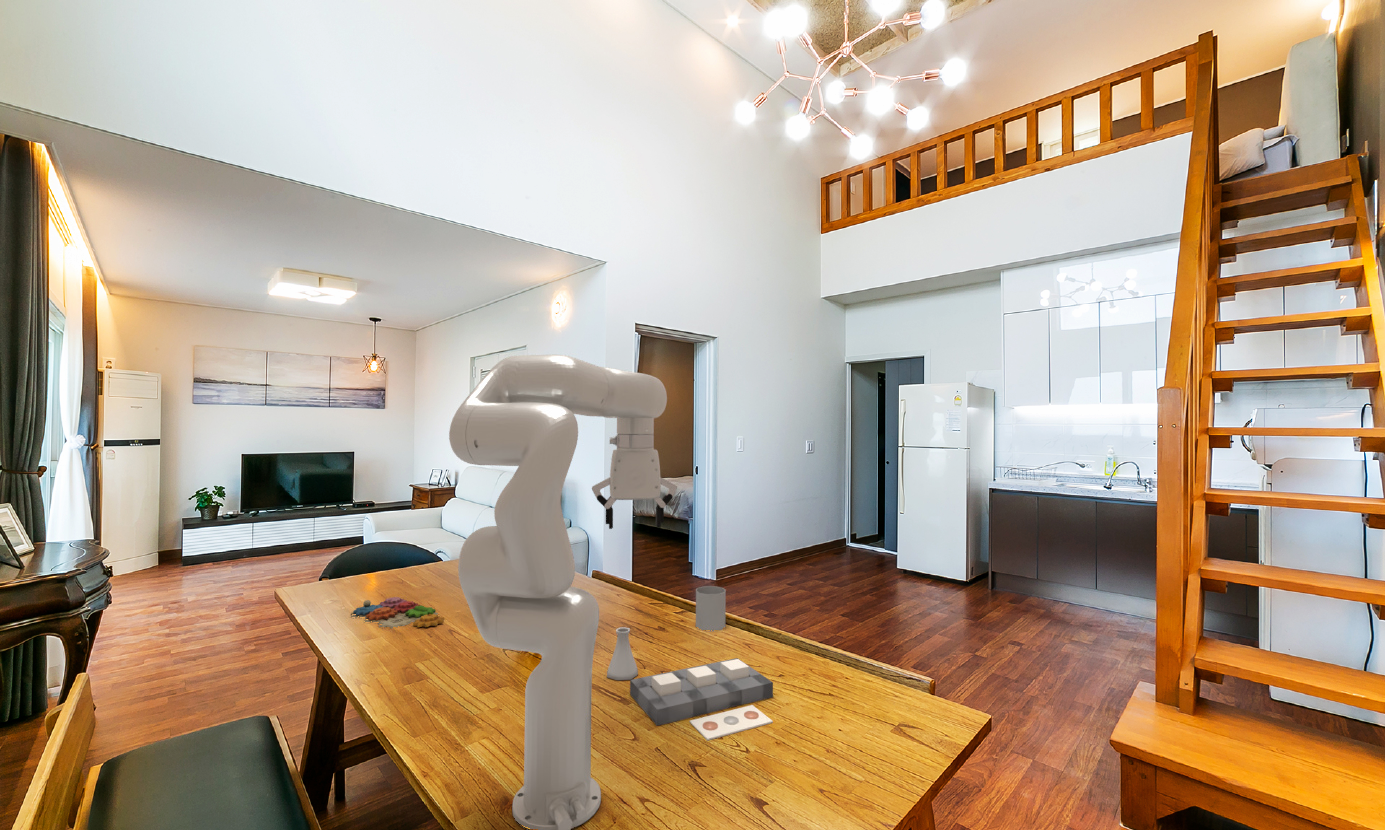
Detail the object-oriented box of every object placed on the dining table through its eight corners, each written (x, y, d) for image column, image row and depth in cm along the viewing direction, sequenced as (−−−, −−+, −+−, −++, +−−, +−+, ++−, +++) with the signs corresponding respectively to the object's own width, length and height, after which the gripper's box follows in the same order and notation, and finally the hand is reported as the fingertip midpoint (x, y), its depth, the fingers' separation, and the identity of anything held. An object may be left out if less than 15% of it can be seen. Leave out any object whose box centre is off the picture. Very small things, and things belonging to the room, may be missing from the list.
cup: (690, 623, 163) (691, 587, 163) (716, 619, 166) (716, 584, 167) (703, 633, 155) (704, 595, 156) (730, 628, 159) (730, 592, 159)
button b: (715, 691, 118) (715, 673, 118) (696, 695, 116) (696, 677, 116) (705, 682, 122) (705, 665, 122) (687, 686, 120) (687, 669, 120)
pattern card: (772, 722, 108) (772, 720, 108) (707, 740, 102) (707, 737, 102) (752, 706, 114) (752, 704, 114) (689, 722, 108) (689, 719, 108)
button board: (772, 697, 118) (772, 682, 119) (657, 726, 107) (657, 709, 107) (737, 671, 131) (737, 658, 131) (630, 694, 119) (630, 679, 119)
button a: (748, 683, 122) (748, 666, 122) (730, 687, 120) (731, 670, 120) (737, 675, 125) (738, 658, 126) (720, 679, 123) (720, 662, 124)
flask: (633, 683, 125) (633, 636, 125) (601, 679, 126) (601, 634, 126) (642, 669, 132) (643, 625, 132) (612, 666, 133) (613, 623, 133)
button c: (680, 699, 114) (680, 681, 114) (660, 704, 112) (660, 685, 112) (671, 690, 118) (671, 672, 118) (651, 694, 116) (651, 676, 116)
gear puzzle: (459, 621, 164) (460, 607, 164) (406, 639, 151) (406, 623, 151) (397, 603, 181) (398, 590, 181) (344, 617, 167) (344, 603, 167)
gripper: (592, 443, 112) (591, 531, 112) (679, 443, 115) (679, 529, 115) (592, 442, 120) (591, 525, 119) (674, 442, 122) (674, 522, 122)
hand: (634, 527), depth 117 cm, fingers open, 9 cm apart
